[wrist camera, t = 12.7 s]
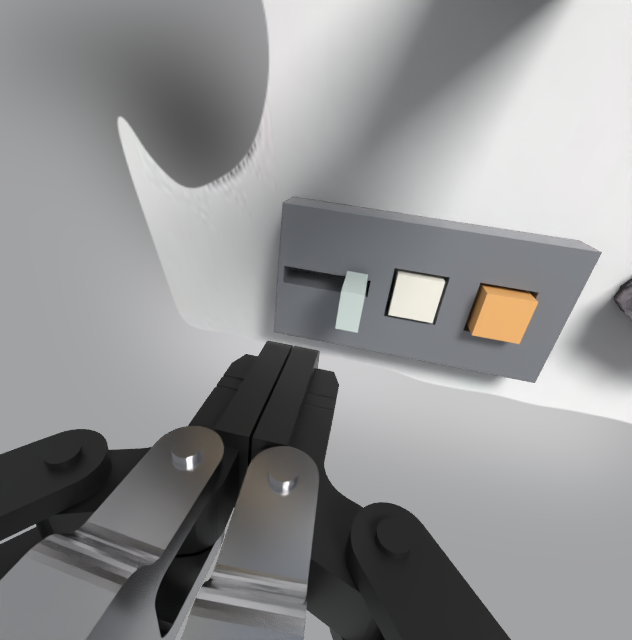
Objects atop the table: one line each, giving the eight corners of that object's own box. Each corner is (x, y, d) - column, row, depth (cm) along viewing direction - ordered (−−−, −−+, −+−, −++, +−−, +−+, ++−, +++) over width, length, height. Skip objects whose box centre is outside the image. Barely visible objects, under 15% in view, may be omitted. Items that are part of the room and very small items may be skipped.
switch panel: (293, 196, 36) (282, 202, 33) (579, 240, 34) (601, 252, 30) (283, 316, 43) (273, 331, 40) (521, 361, 40) (534, 382, 37)
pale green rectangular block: (351, 257, 38) (341, 291, 29) (370, 260, 38) (365, 295, 29) (346, 288, 40) (335, 328, 31) (364, 291, 39) (357, 332, 31)
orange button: (477, 278, 35) (487, 293, 32) (523, 285, 35) (538, 302, 31) (463, 316, 37) (471, 335, 34) (506, 324, 37) (519, 344, 33)
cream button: (397, 261, 37) (398, 274, 34) (439, 268, 37) (445, 282, 33) (388, 299, 39) (388, 314, 36) (428, 306, 39) (432, 323, 35)
